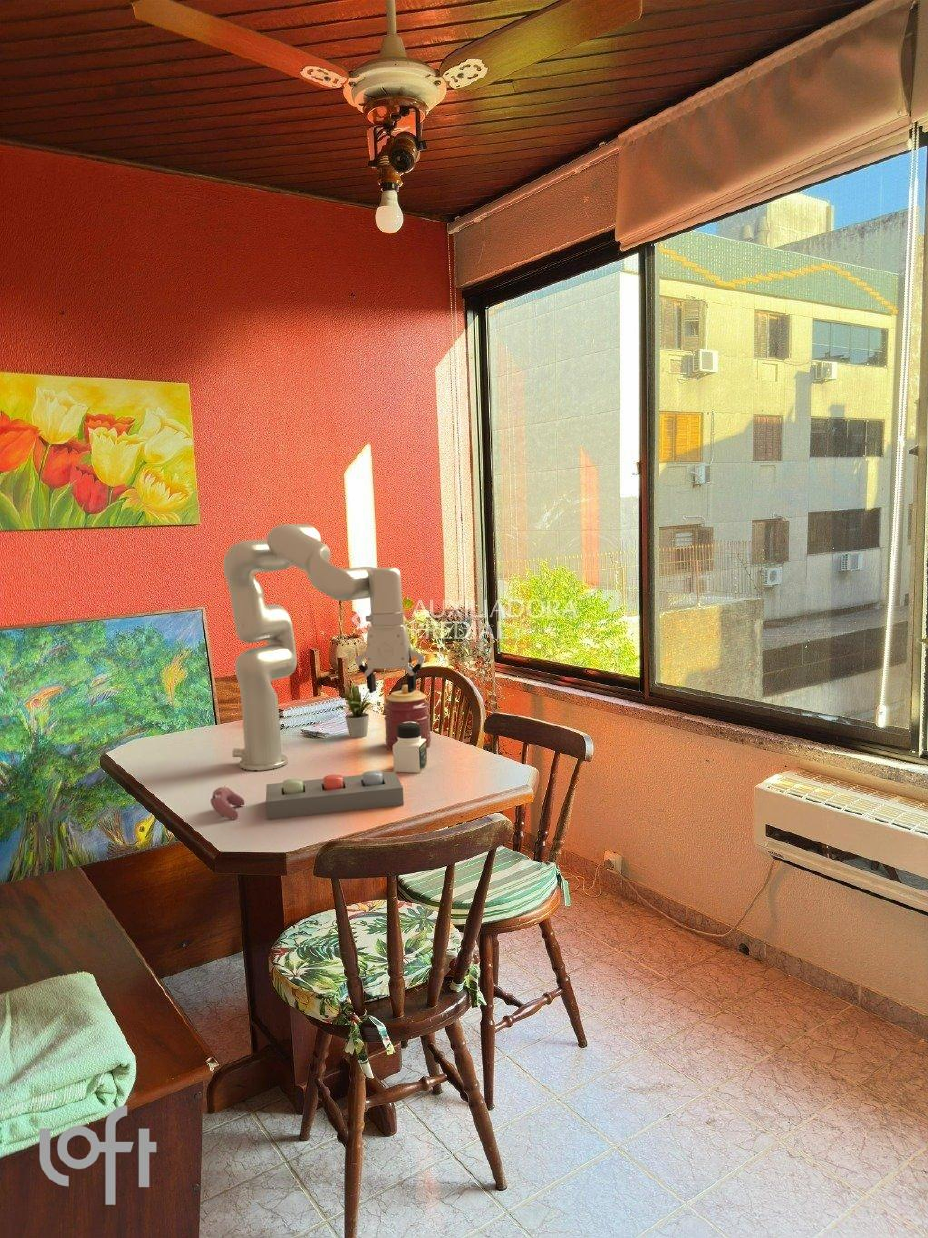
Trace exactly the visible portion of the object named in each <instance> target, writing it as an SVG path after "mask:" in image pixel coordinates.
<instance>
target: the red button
mask: <svg viewBox="0 0 928 1238" xmlns="http://www.w3.org/2000/svg"><path fill="white" fill-rule="evenodd" d="M343 777H344V776H343V775H342V774H330V775H329V774H328V775H326V776H324V777H323V778H322V779H323V781H324V790H333V789H343Z"/></svg>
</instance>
